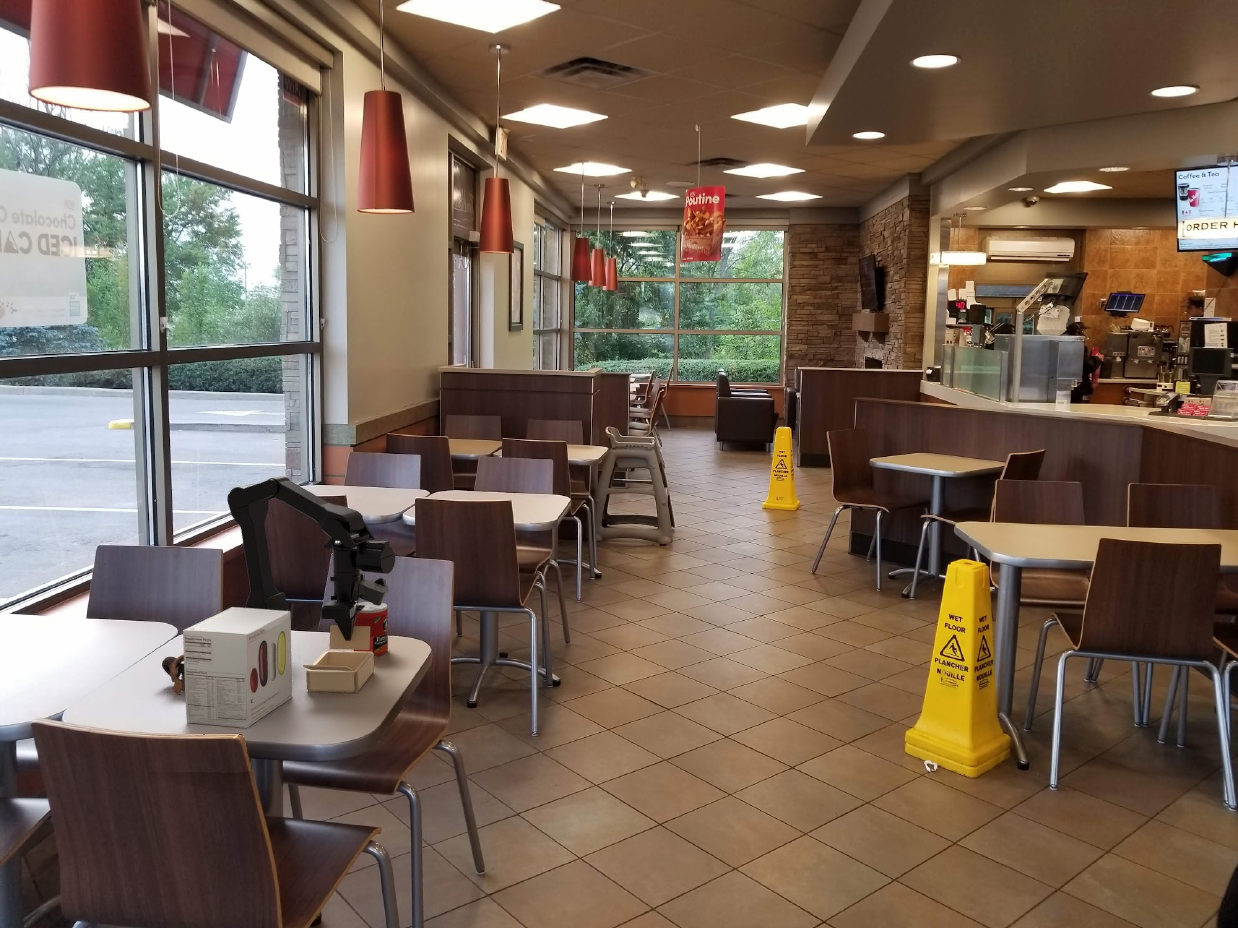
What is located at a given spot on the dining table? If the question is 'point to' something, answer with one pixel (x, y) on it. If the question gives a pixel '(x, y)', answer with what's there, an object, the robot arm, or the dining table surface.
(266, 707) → the supplement box
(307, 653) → the dining table surface
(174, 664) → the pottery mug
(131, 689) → the dining table surface
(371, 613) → the canned food
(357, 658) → the carton
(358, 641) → the far flap
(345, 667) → the near flap
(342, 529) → the robot arm
